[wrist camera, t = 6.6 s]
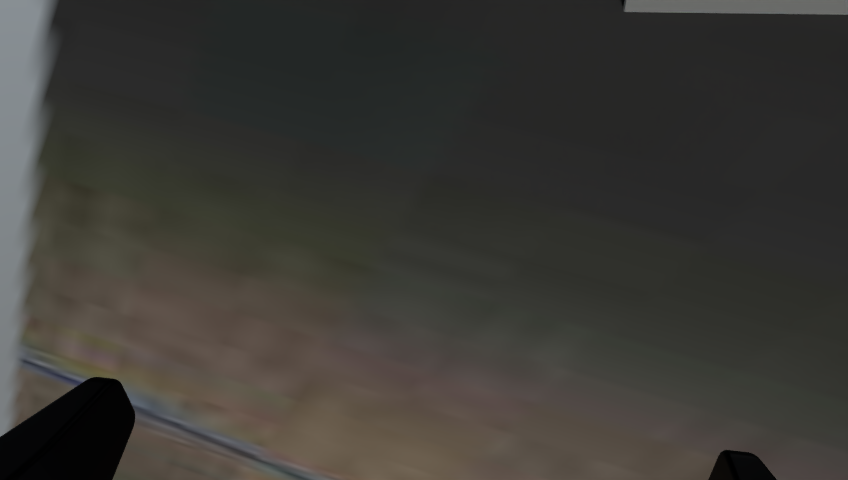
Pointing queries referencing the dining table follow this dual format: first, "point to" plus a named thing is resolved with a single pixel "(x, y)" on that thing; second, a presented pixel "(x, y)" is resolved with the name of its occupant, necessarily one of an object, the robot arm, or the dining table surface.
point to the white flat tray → (739, 6)
